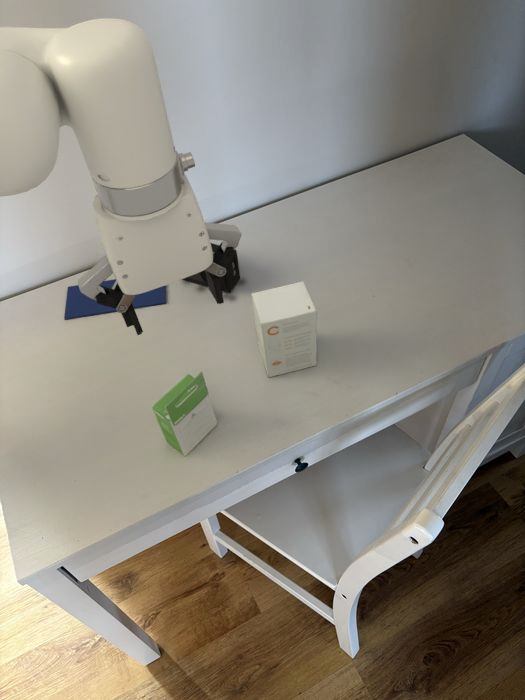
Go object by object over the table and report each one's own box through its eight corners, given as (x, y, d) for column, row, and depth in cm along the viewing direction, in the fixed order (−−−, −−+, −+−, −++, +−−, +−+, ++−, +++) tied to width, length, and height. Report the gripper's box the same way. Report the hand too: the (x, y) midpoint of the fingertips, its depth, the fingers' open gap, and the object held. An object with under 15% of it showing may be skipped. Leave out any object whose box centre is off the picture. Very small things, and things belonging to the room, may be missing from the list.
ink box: (200, 410, 81) (182, 356, 70) (218, 424, 79) (204, 371, 68) (166, 442, 78) (143, 391, 67) (184, 457, 76) (164, 408, 65)
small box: (305, 336, 88) (304, 279, 78) (317, 366, 84) (317, 310, 74) (257, 348, 87) (250, 292, 77) (267, 378, 83) (261, 324, 73)
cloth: (64, 320, 94) (64, 318, 94) (68, 288, 99) (67, 286, 99) (166, 303, 95) (165, 302, 95) (164, 272, 100) (164, 271, 100)
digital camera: (176, 283, 98) (168, 255, 92) (191, 264, 101) (184, 235, 95) (227, 298, 95) (221, 269, 89) (240, 278, 97) (236, 249, 92)
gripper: (213, 134, 51) (234, 265, 65) (35, 189, 48) (96, 316, 61) (244, 173, 47) (259, 305, 60) (50, 237, 44) (112, 362, 57)
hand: (177, 310), depth 61 cm, fingers open, 9 cm apart
